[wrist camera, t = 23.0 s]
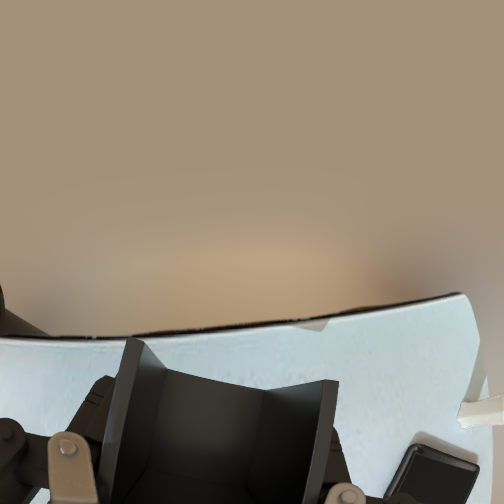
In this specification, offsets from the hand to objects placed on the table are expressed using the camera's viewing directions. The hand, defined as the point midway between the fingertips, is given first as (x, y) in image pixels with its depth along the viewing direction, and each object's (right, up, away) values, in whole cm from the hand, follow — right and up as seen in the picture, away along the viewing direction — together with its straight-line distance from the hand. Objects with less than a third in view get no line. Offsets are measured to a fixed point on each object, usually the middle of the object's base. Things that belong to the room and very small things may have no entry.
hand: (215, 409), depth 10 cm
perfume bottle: (+29, -15, +16) cm, 36 cm away
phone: (+23, -22, +11) cm, 33 cm away
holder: (-1, -3, +3) cm, 5 cm away
